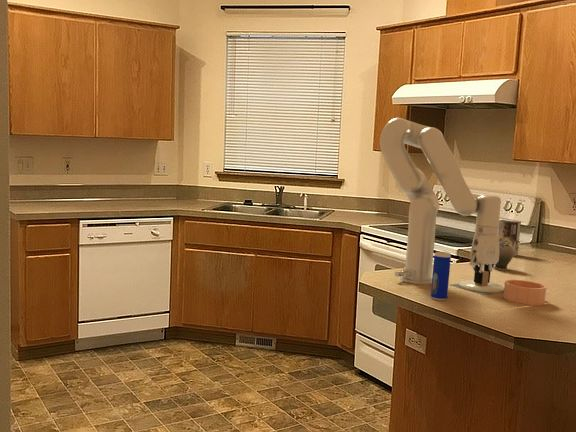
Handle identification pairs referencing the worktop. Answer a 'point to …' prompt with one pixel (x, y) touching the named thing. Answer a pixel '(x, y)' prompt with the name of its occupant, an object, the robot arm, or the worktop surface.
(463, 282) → the lid
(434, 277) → the beverage can
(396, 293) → the worktop surface
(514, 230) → the coffee box
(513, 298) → the bowl
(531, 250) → the worktop surface
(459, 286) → the mat
